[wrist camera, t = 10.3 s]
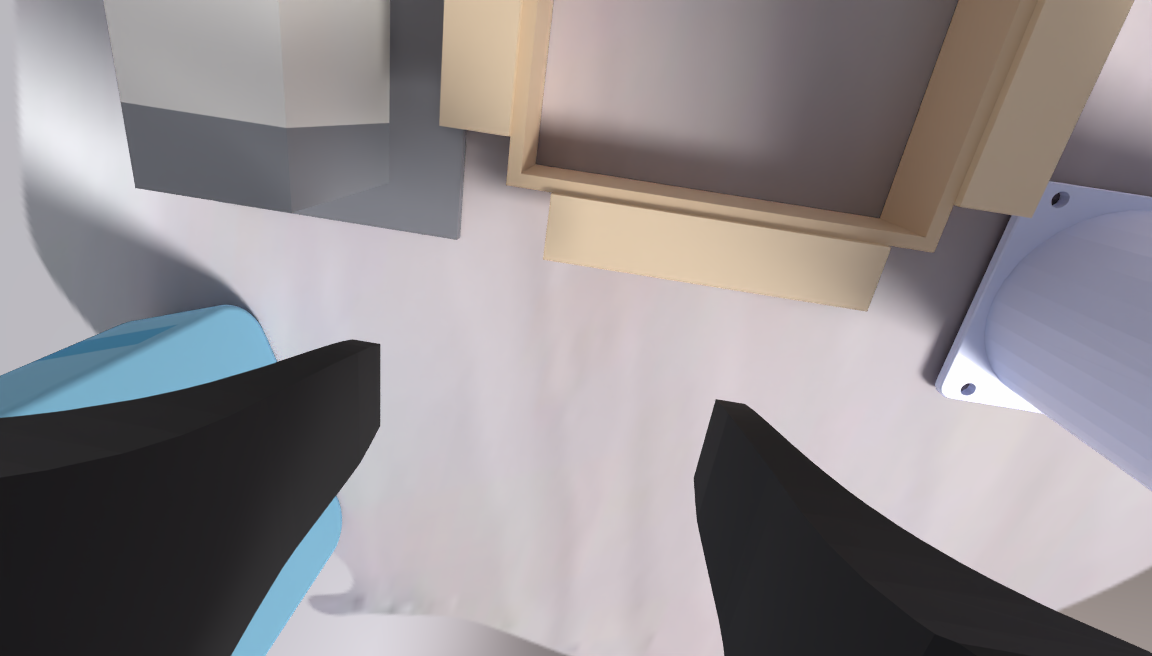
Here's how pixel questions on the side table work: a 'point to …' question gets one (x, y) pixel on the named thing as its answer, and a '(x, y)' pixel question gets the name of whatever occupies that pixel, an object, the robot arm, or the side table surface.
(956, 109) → the carton
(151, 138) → the capped box
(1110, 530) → the side table surface
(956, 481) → the side table surface
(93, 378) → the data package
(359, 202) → the mat
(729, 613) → the robot arm
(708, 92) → the side table surface
